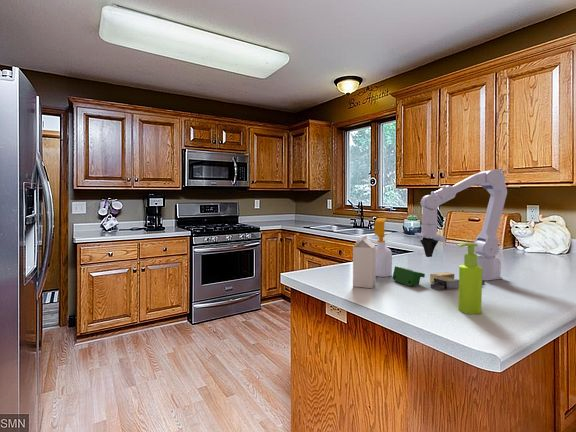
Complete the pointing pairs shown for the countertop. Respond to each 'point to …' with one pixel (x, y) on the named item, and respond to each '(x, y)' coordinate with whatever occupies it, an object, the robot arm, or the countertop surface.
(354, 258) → the milk carton
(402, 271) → the green angular piece
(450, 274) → the light wood block
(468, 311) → the soap dispenser
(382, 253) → the soap bottle
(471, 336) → the countertop surface
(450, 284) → the chain end blocks
